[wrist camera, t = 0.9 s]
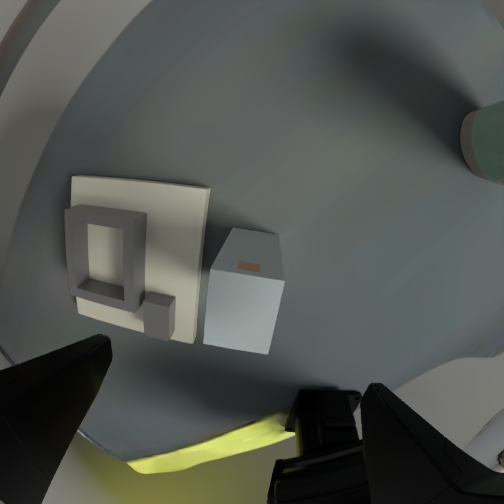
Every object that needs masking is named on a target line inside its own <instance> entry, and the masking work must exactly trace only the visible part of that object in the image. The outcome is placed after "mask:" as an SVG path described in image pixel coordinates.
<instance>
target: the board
mask: <svg viewBox="0 0 504 504" xmlns="http://www.w3.org/2000/svg"><path fill="white" fill-rule="evenodd" d="M209 196H210V188H208V187H200V186H193V185H185V184H176V183H167V182H158V181H148V180H138V179H127V178H115V177H102V176H87V175H78V176H72V185H71V207H69V208H66V209H65V243H66V259H67V270H68V280H69V289H70V295H72V296H75V297H76V299H77V306H78V313H79V314H82V315H85V316H88V317H91V318H94V319H98V320H101V321H104V322H108V323H111V324H114V325H118V326H121V327H125V328H129V329H132V330H136V331H140V332H144V336H148V337H152V338H156V339H160V340H165V341H169V340H170V339H172V340H177V341H181V342H186V343H190V344H193V342H194V340H195V337H196V329H197V315H198V302H199V290H200V278H201V268H202V257H203V248H204V238H205V229H206V220H207V212H208V204H209Z"/></svg>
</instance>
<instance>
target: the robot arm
mask: <svg viewBox="0 0 504 504" xmlns="http://www.w3.org/2000/svg"><path fill="white" fill-rule="evenodd" d="M112 356H113V355H112V347H111V340H110V338H109V337H108V336H105V335H102V334H97V335H94V336H91V337H89V338H86V339H84V340H81V341H79V342H76V343H73V344H71V345H68V346H66V347H63V348H60V349H58V350H55V351H52V352H50V353H47V354H44V355H42V356H39V357H36V358H34V359H31V360H28V361H26V362H23V363H21V364H17V365H15V366H12V367H9V368H6V369H3V370H0V504H41V503H42V501H43V499H44V497H45V494H46V492H47V490H48V488H49V486H50V484H51V481H52V479H53V477H54V475H55V473H56V471H57V469H58V467H59V465H60V463H61V460H62V459H63V457H64V455H65V453H66V450H67V449H68V447H69V445H70V443H71V441H72V439H73V437H74V435H75V433H76V432H77V430H78V428H79V426H80V424H81V422H82V421H83V419H84V417H85V415H86V413H87V412H88V410H89V408H90V406H91V404H92V403H93V401H94V399H95V397H96V395H97V393H98V391H99V389H100V387H101V384H102V382H103V380H104V377H105V375H106V373H107V370H108V368H109V366H110V364H111V361H112ZM303 394H305V395H303ZM360 401H361V402H360ZM359 403H360V409H361V424H362V439H361V440H359V436H358V432H357V428H356V422H355V419H354V415H353V413H354V411H355V410H356V408H357V406H358V404H359ZM285 431H287V432H295V436H296V453H297V457H294V458H289V459H284V460H283V459H279V460H276V463H275V467H274V469H273V473H272V478H271V483H270V487H269V491H268V499H267V504H504V473H499V472H495V471H493V470H491V469H489V468H488V467H486V466H485V465H483V464H482V463H480V462H478V461H477V460H475V459H474V458H472V457H471V456H469V455H468V454H467V453H465V452H464V451H462V450H461V449H460V448H458V447H457V446H456V445H455V444H453V443H452V442H451V441H450V440H448V439H447V438H446V437H444V436H443V435H442V434H441V433H440V432H439V431H438V430H436V429H435V428H434V427H433V426H431V425H430V424H429V423H428V422H427V421H426V420H424V419H423V418H422V417H421V416H420V415H418V414H417V413H416V412H415V411H414V410H412V409H411V408H410V407H409V406H408V405H406V403H404V402H403V401H402V400H401V399H400V398H398V397H397V396H396V395H395V394H394V393H393V392H391V391H390V390H389V389H388V388H387V387H386V386H384V385H383V384H382V383H371V384H370V385H369V386H368V388H367V390H366V391H365V393H364V395H363V397H362V395H361V393H360V392H333V391H316V390H300V391H299V392H298V394H297V397H296V399H295V402H294V405H293V407H292V410H291V412H290V415H289V417H288V420H287V422H286V424H285Z"/></svg>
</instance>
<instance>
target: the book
mask: <svg viewBox="0 0 504 504" xmlns="http://www.w3.org/2000/svg"><path fill="white" fill-rule="evenodd" d="M500 461H501V465H502V467H503V468H504V451H503V452H501V458H500Z"/></svg>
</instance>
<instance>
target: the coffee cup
mask: <svg viewBox="0 0 504 504" xmlns="http://www.w3.org/2000/svg"><path fill="white" fill-rule="evenodd" d="M460 143H461V149H462V153H463V156H464V159H465V161H466V163H467V165H468V166H469V168H470V169H471V171H472V172H473V173H474V174H476V175H477V176H479V177H481V178H484V179H486V180H489V181H491V182H494V183H496V184H499V185H502V186H504V101H501V102H498V103H495V104H492V105H489V106H486V107H483V108H481V109H478V110H475V111H473V112H470V113H469V114H468V115H467V116H466V117H465V118H464V120H463V122H462V125H461V130H460Z"/></svg>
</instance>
